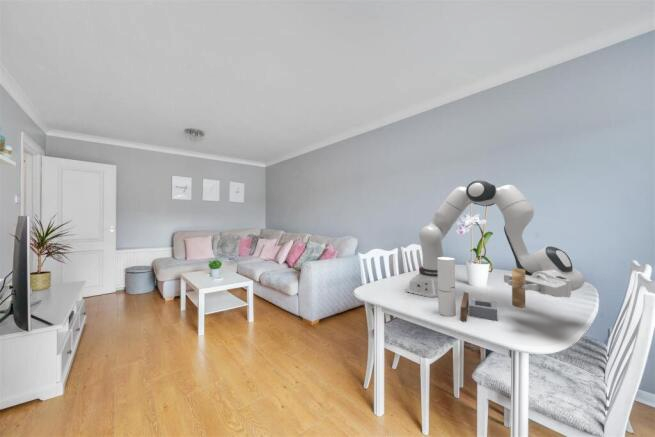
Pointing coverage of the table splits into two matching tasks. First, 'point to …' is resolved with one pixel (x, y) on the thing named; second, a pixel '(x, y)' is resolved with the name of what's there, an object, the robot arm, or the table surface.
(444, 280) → the cylindrical container
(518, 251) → the robot arm
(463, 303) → the rail
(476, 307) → the socket block
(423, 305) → the table surface
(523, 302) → the brown wooden tall bar
